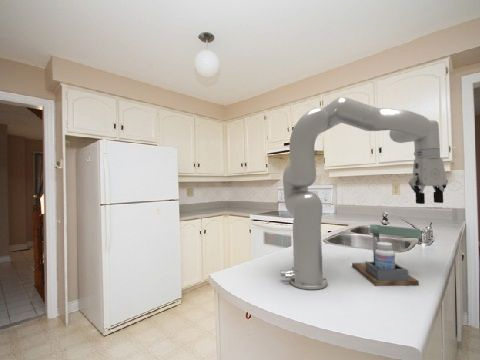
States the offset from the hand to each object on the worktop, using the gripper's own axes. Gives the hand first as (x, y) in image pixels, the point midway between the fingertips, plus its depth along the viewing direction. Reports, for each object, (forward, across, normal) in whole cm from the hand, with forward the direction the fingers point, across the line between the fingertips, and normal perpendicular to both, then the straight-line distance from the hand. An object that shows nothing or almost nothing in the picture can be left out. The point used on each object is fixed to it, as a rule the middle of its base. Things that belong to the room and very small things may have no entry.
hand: (429, 202), depth 95 cm
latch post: (+24, -14, +11) cm, 30 cm away
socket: (+24, -20, 0) cm, 32 cm away
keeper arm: (+12, -11, +6) cm, 17 cm away
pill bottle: (+25, -20, 0) cm, 32 cm away
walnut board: (+26, -18, +4) cm, 32 cm away
